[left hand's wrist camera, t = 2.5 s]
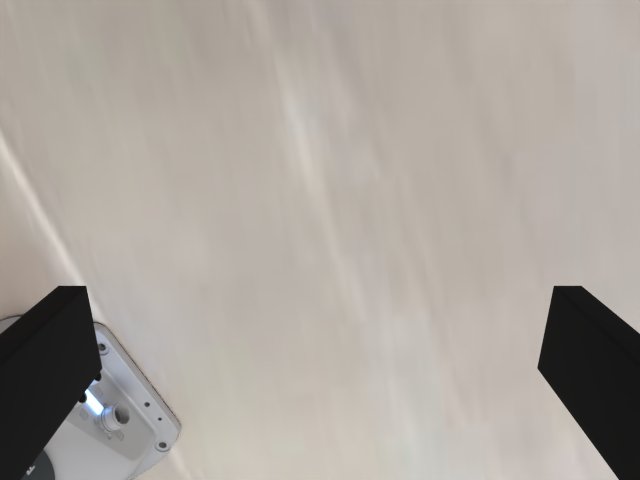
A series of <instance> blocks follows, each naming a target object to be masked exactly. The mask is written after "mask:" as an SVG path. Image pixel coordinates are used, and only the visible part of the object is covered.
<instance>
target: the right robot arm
mask: <svg viewBox="0 0 640 480" xmlns="http://www.w3.org/2000/svg"><path fill="white" fill-rule="evenodd" d="M20 317H21V316H20ZM20 317H13V318H9V319H5V320H2V321H0V334H1V333H2V332H3V331H4V330H6V329H7V328H8V327H9V326H10V325H12V324H13V323H14V322H15V321H17V320H18V319H19V318H20ZM94 328H95V333H96V338H97V343H98V348H99V353H100V358H101V363H102V370H101V371H100V372H99V374H98V375H97V377H96V378H95V379H94V381H93V382H92V383H91V385H90V386H89V387H88V389H87V390H86V392H85V393H84V394H83V396H82V397H81V398H80V400H79V401H78V402H77V404H76V405H75V407H74V408H73V409H72V411H71V412H70V413H69V415H68V416H67V417H66V419H65V420H64V422H63V423H62V424H61V426H60V427H59V428H58V430H57V431H56V433H55V434H54V435H53V437H52V438H51V439H50V441H49V442H48V443H47V445H46V446H45V448H44V449H43V450H42V452H41V453H40V454H39V456H38V457H37V458H36V460H35V461H34V463H33V464H32V465H31V467H30V468H29V469H28V471H27V472H26V473H25V475H24V476H23V478H22V479H21V480H131V479H133V478H135V477H137V476H139V475H141V474H142V473H144V472H146V471H147V470H149V469H150V468H152V467H153V466H154V465H156V464H157V463H158V462H159V461H160V460H161V459H162V458H164V457H165V456H166V454H167V453H168V452H169V451H170V450H171V448H172V447H173V445H174V443H175V441H176V440H177V438H178V435H179V433H180V429H181V426H180V424H179V422H178V420H177V419H176V418H175V416H174V415H173V414H172V412H171V411H170V410H169V408H168V407H167V406H166V404H165V403H164V402H163V401H162V399H161V398H160V397H159V395H158V394H157V393H156V391H155V390H154V389H153V387H152V386H151V385H150V383H149V382H148V381H147V380H146V378H145V377H144V376H143V374H142V373H141V372H140V370H139V369H138V368H137V366H136V365H135V364H134V362H133V361H132V360H131V359H130V357H129V356H128V355H127V353H126V352H125V351H124V349H123V348H122V347H121V345H120V344H119V343H118V341H117V340H116V339H115V338H114V336H113V335H112V334H111V332H110V331H109V330H108V329H107V328H106V327H105V326H103V325H101V324H97V323H94ZM101 344H104V345H105V346H106V347H104V346H102V345H101ZM163 442H164V443H163Z"/></svg>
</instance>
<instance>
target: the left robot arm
mask: <svg viewBox="0 0 640 480" xmlns="http://www.w3.org/2000/svg"><path fill="white" fill-rule="evenodd" d="M101 370H102V363H101V358H100V353H99V348H98V343H97V338H96V333H95V328H94V323H93V318H92V313H91V308H90V303H89V298H88V293H87V288H86V286H58V287H57V288H56V289H54V290H53V291H52V292H51V293H49V294H48V295H47V296H46V297H45V298H43V299H42V300H41V301H40V302H38V303H37V304H36V305H35V306H34V307H32V308H31V309H30V310H29V311H28V312H26V313H25V314H24V315H23V316H21V317H20V318H19V319H18V320H17V321H15V322H14V323H13V324H12V325H10V326H9V327H8V328H7V329H6V330H4V331H3V332H2V333H1V334H0V480H21V479H22V478H23V476H24V475H25V473H26V472H27V471H28V469H29V468H30V467H31V465H32V464H33V463H34V461H35V460H36V458H37V457H38V456H39V454H40V453H41V452H42V450H43V449H44V448H45V446H46V445H47V443H48V442H49V441H50V439H51V438H52V437H53V435H54V434H55V433H56V431H57V430H58V428H59V427H60V426H61V424H62V423H63V422H64V420H65V419H66V417H67V416H68V415H69V413H70V412H71V411H72V409H73V408H74V407H75V405H76V404H77V402H78V401H79V400H80V398H81V397H82V396H83V394H84V393H85V392H86V390H87V389H88V387H89V386H90V385H91V383H92V382H93V381H94V379H95V378H96V377H97V375H98V374H99V372H100V371H101ZM538 370H539V371H540V372H541V374H542V375H543V377H544V378H545V379H546V381H547V382H548V383H549V385H550V386H551V387H552V389H553V390H554V392H555V393H556V394H557V396H558V397H559V398H560V400H561V401H562V402H563V404H564V405H565V407H566V408H567V409H568V411H569V412H570V413H571V415H572V416H573V417H574V419H575V420H576V422H577V423H578V424H579V426H580V427H581V428H582V430H583V431H584V433H585V434H586V435H587V437H588V438H589V439H590V441H591V442H592V443H593V445H594V446H595V448H596V449H597V450H598V452H599V453H600V454H601V456H602V457H603V458H604V460H605V461H606V463H607V464H608V465H609V467H610V468H611V469H612V471H613V472H614V473H615V475H616V476H617V478H618V479H619V480H640V334H639V333H638V332H637V331H636V330H634V329H633V328H632V327H631V326H630V325H628V324H627V323H626V322H625V321H623V320H622V319H621V318H620V317H619V316H617V315H616V314H615V313H614V312H612V311H611V310H610V309H609V308H608V307H606V306H605V305H604V304H603V303H601V302H600V301H599V300H598V299H597V298H595V297H594V296H593V295H592V294H591V293H589V292H588V291H587V290H586V289H584V288H583V287H582V286H554V288H553V293H552V298H551V303H550V308H549V313H548V318H547V323H546V328H545V333H544V338H543V343H542V348H541V353H540V358H539V363H538Z"/></svg>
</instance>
